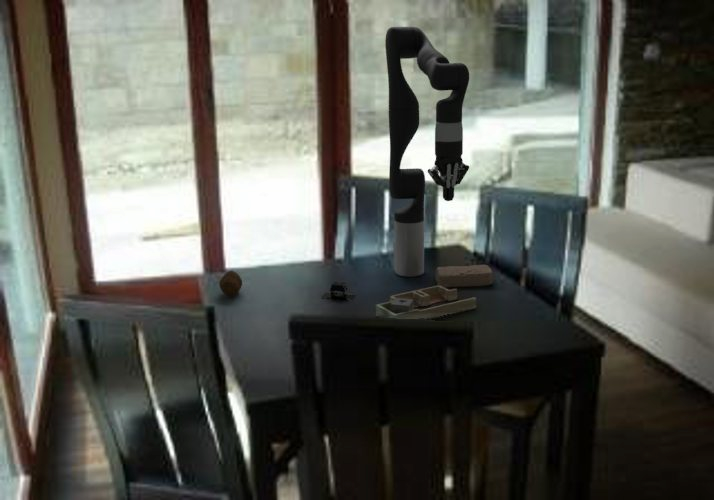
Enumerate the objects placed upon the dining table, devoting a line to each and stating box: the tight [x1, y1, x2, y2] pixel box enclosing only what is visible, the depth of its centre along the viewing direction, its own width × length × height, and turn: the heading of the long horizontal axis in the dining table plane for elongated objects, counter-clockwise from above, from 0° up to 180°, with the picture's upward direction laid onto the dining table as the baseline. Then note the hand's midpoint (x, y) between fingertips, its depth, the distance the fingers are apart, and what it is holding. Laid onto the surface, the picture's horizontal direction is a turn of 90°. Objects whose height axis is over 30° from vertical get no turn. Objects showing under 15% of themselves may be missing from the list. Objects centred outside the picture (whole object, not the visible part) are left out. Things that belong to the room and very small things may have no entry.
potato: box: [219, 270, 243, 298], centre depth 244 cm, size 7×12×7 cm, turn 9°
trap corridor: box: [375, 285, 477, 319], centre depth 229 cm, size 15×27×4 cm, turn 120°
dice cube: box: [391, 298, 415, 314], centre depth 222 cm, size 5×5×5 cm
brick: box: [435, 264, 494, 288], centre depth 251 cm, size 17×8×5 cm, turn 92°
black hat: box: [320, 281, 357, 302], centre depth 241 cm, size 12×7×5 cm, turn 74°
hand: (448, 200), depth 229 cm, fingers closed
